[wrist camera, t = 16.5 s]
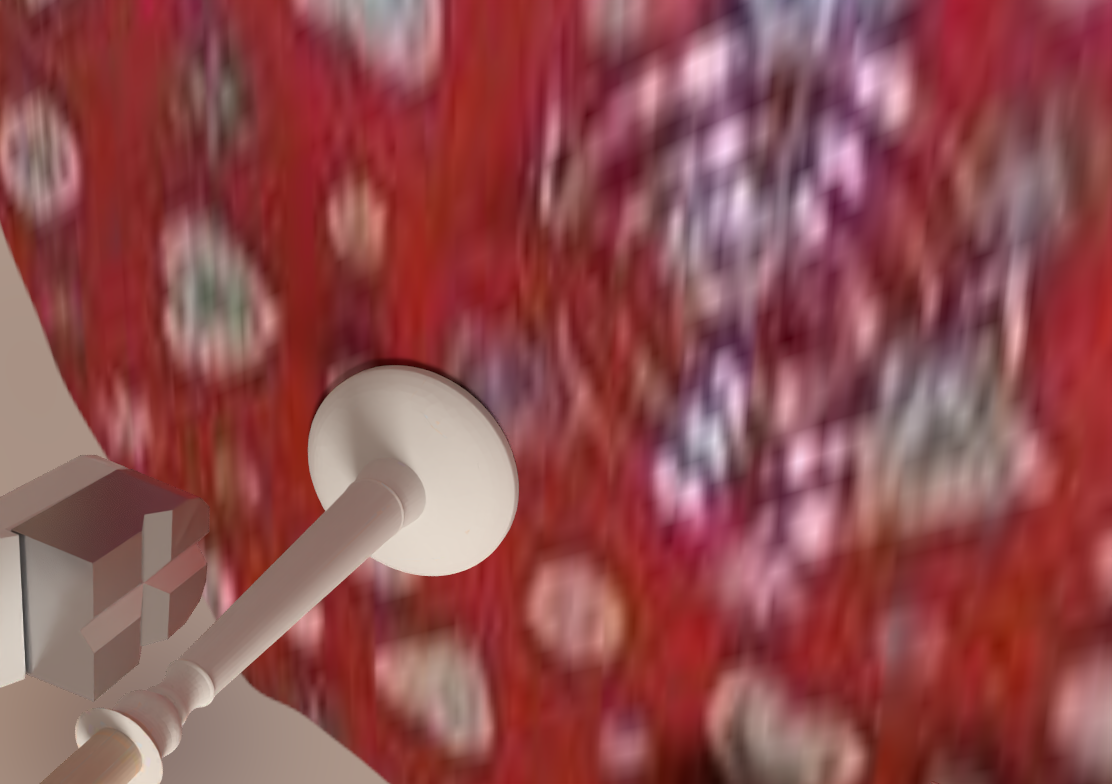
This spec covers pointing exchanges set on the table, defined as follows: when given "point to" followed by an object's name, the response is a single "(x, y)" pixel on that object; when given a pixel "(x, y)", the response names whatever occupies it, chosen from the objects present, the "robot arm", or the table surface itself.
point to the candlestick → (332, 547)
